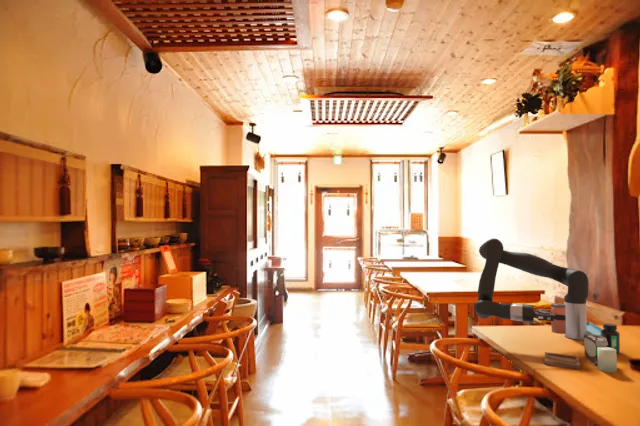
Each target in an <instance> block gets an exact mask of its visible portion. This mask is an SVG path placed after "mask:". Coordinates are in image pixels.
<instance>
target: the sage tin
mask: <svg viewBox="0 0 640 426" xmlns="http://www.w3.org/2000/svg"><path fill="white" fill-rule="evenodd" d="M597 354H598V366H597V369H598V370H599V371H601V372H604V373H608V374H609V373H611V374H615V373H617V372H618V370H617V369H618V368H617V367H618V366H617V365H618V364H617V362H618V361H617V354H616V349H613V348H609V347H597Z"/></svg>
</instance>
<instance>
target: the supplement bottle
mask: <svg viewBox="0 0 640 426" xmlns="http://www.w3.org/2000/svg"><path fill="white" fill-rule="evenodd" d="M602 329H603V330H601V336H602V337H605V338H606V340H607V342H608V345H607V346H606V347H609V348H613V349H616V355H619V354H620V353H621V337H620V336H621V333H620V332H619V331H618V326H617V324H615V323H611V322H610V323H609V322H604V323H603V324H602Z"/></svg>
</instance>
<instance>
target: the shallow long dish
mask: <svg viewBox="0 0 640 426" xmlns="http://www.w3.org/2000/svg"><path fill="white" fill-rule="evenodd" d="M586 326H587V333H588V334H595V335H599V336H601V330H603V329H604V328H601V327H600V326H598V325H596V324H594V323H592V322H590V321H586Z"/></svg>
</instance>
